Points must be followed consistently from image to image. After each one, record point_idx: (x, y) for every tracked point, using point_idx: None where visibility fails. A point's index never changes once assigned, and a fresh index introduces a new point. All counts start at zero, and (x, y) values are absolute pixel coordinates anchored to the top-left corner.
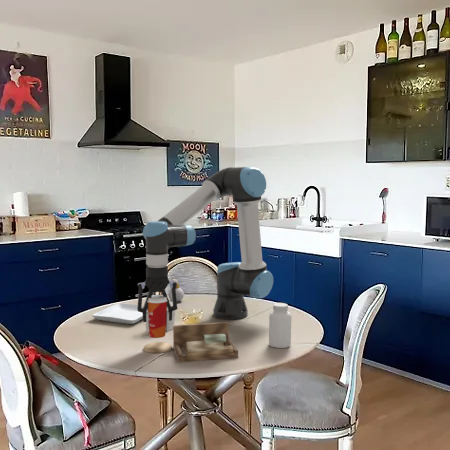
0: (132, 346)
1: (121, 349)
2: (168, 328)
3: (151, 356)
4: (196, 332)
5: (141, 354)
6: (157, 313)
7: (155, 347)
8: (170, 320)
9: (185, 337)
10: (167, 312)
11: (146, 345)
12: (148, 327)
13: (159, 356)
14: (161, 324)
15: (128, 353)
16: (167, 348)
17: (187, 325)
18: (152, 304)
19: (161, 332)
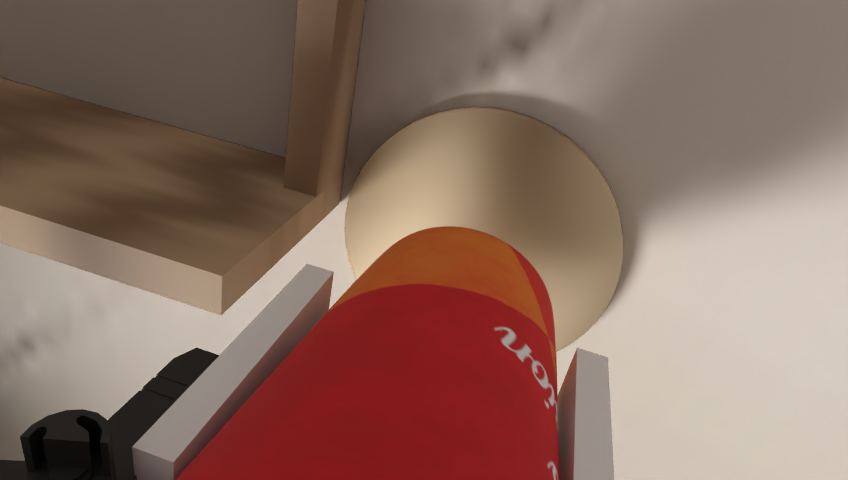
0: (672, 403)
1: (811, 390)
2: (302, 280)
3: (631, 54)
4: (34, 157)
5: (702, 166)
6: (391, 474)
7: None
8: (211, 355)
9: (180, 176)
10: (161, 463)
11: (562, 335)
12: (579, 389)
13: (551, 13)
14: (384, 303)
15: (813, 259)
16: (406, 162)
17: (50, 223)
18: None
19: (420, 249)
